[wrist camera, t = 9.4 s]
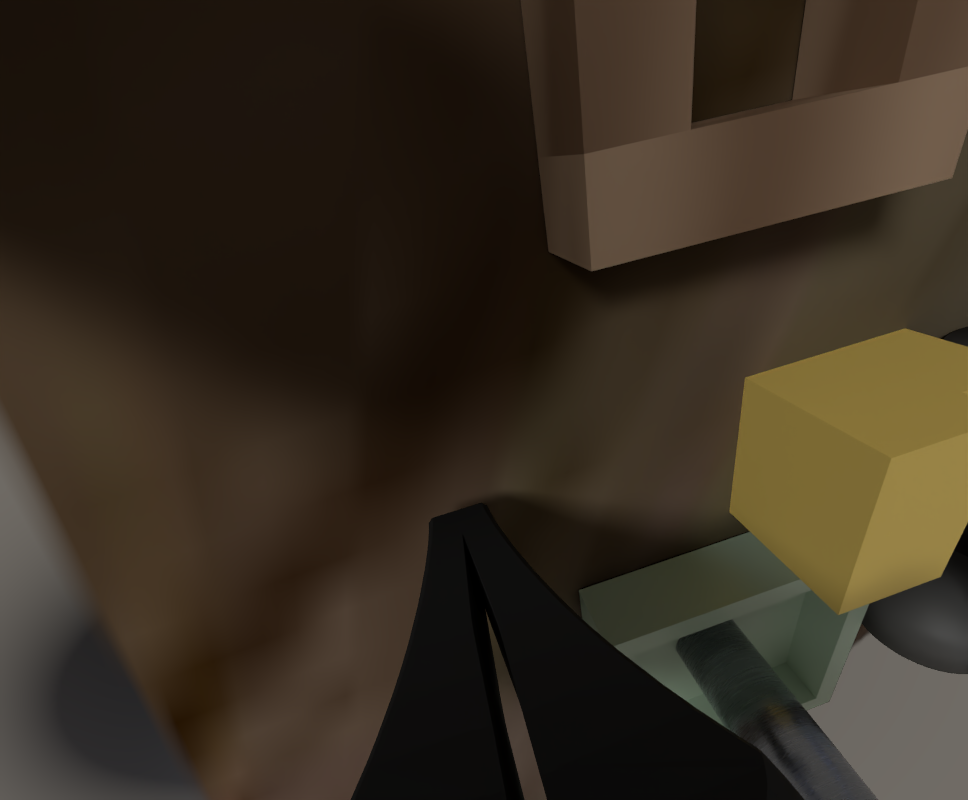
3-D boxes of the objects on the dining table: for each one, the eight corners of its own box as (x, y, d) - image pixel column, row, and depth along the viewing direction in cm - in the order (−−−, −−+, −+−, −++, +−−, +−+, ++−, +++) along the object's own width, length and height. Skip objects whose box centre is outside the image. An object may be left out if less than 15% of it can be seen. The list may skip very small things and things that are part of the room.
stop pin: (745, 599, 16) (977, 864, 10) (736, 646, 17) (933, 901, 11) (669, 625, 15) (862, 917, 9) (667, 671, 17) (832, 948, 11)
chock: (898, 326, 12) (1103, 386, 9) (858, 463, 15) (1006, 552, 11) (739, 374, 12) (891, 458, 8) (725, 508, 14) (837, 615, 11)
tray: (833, 503, 15) (892, 545, 13) (789, 655, 20) (829, 701, 18) (578, 590, 14) (607, 648, 12) (596, 729, 19) (618, 785, 17)
